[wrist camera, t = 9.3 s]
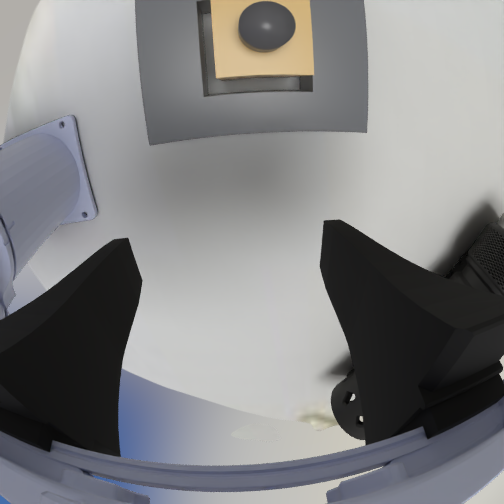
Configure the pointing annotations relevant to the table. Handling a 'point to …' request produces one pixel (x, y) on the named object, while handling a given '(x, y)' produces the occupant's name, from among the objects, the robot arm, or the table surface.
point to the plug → (262, 38)
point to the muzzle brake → (464, 272)
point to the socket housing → (254, 102)
